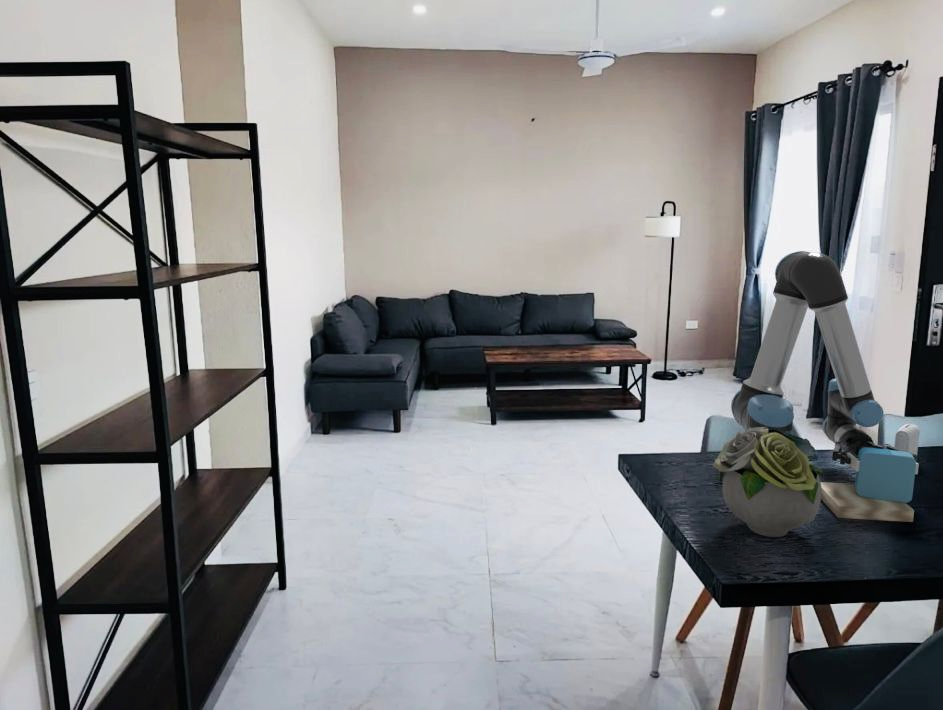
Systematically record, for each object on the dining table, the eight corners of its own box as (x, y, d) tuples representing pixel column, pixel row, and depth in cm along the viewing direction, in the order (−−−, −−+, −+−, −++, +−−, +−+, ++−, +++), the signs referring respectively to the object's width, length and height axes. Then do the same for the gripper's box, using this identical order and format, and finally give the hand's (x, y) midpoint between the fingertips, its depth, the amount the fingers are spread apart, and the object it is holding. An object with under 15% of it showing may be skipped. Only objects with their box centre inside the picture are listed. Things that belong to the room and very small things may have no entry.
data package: (908, 497, 172) (914, 452, 169) (911, 504, 167) (917, 457, 165) (854, 490, 176) (859, 446, 174) (856, 496, 172) (860, 451, 170)
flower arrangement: (695, 510, 172) (701, 417, 167) (791, 507, 173) (799, 415, 169) (739, 556, 147) (747, 449, 143) (850, 553, 149) (862, 446, 144)
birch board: (837, 517, 167) (839, 506, 166) (815, 492, 183) (816, 481, 182) (912, 522, 164) (914, 510, 164) (883, 495, 180) (884, 485, 180)
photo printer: (906, 470, 200) (910, 429, 197) (889, 466, 203) (894, 426, 201) (918, 462, 206) (922, 423, 204) (902, 458, 209) (906, 420, 207)
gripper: (900, 456, 189) (939, 484, 169) (805, 452, 193) (832, 479, 173) (903, 430, 188) (943, 455, 167) (807, 426, 192) (835, 450, 171)
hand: (887, 467), depth 170 cm, fingers open, 13 cm apart
